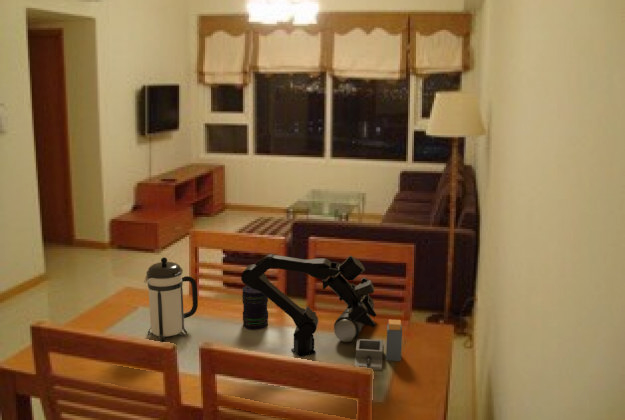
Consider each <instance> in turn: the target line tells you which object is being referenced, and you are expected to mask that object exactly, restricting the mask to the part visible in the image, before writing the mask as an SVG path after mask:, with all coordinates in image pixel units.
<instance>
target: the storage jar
mask: <svg viewBox="0 0 625 420" xmlns="http://www.w3.org/2000/svg"><path fill="white" fill-rule="evenodd" d="M241 289H242V291H241V292H242V295H241V297H242V298H241V299H242V306H243V311H242V322H243V323H242V324H243V328H245V329H247V330H250V331H251V330H252V331H258V330H263V329H266V328H267V327H268V326H269V310H268V303H269V298H268V297H267V296H265V295H264V294H263V293H262V292H260V291H258V290H255V289H252V288H250V287H249V286H247V285H245V286H243V287H242V288H241Z"/></svg>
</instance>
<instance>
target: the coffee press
mask: <svg viewBox="0 0 625 420" xmlns="http://www.w3.org/2000/svg"><path fill="white" fill-rule="evenodd" d="M183 273H184V272H183V268H182V267H181V266H180V264H178V263H176V262H173V261H168V258H167V257H162V258H161V260H160V261H159V262H156V263H153V264H151V265H150V266H149V267H148V268H147V271H146V274H145V275H146V276H145V278H144V283H145V284H146V283H147V288H148V302H149V305H148V306H149V319H150V320H149V321H150V322H149V323H150V327H149V329H148V331H147V333H148V334H149V335H152V334H153V335H155V336H158V342H159V341H163V342H164V341H165V338H166V337H172V336H177V335H178V334H180V335H182V336H183V337H186V336H187V335H188V331H187V330H186V328H185V319H188V318H190V317H192V316H194V315H195V313H196V312H197V310H198V305H199V299H198V284H197V281H196V280H195V279H194V278H193V277H192V276H190V275H189V276H188V275H187V276H183V277H182V275H183ZM184 282H189V283H190V284H191V293H192V294H191V295H192V297H191V298H192V307H191V309H190V310H189V311H187V312H184V295H183V294H184V293H183V283H184Z"/></svg>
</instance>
